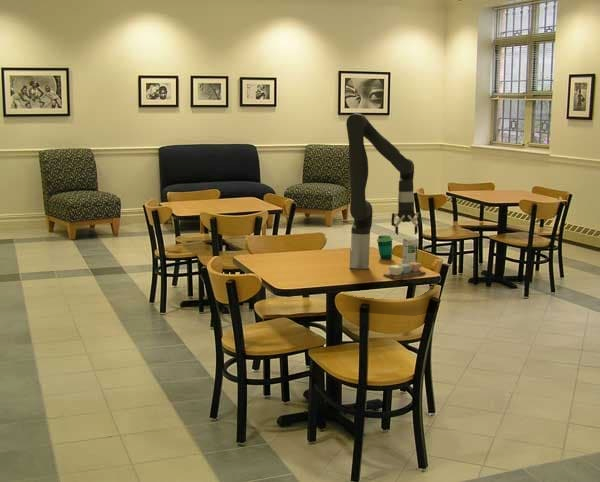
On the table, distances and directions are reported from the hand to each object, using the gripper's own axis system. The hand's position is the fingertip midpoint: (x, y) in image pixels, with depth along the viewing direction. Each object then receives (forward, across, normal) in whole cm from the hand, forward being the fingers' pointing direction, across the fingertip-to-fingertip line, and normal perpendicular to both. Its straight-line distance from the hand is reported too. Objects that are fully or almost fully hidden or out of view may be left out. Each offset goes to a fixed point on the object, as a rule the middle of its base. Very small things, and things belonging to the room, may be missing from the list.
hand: (406, 234), depth 388 cm
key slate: (+17, +1, +8) cm, 19 cm away
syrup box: (+18, -1, -13) cm, 22 cm away
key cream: (+17, +5, +13) cm, 22 cm away
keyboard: (+19, +1, +8) cm, 20 cm away
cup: (+17, +12, -30) cm, 36 cm away
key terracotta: (+17, -3, +3) cm, 18 cm away
